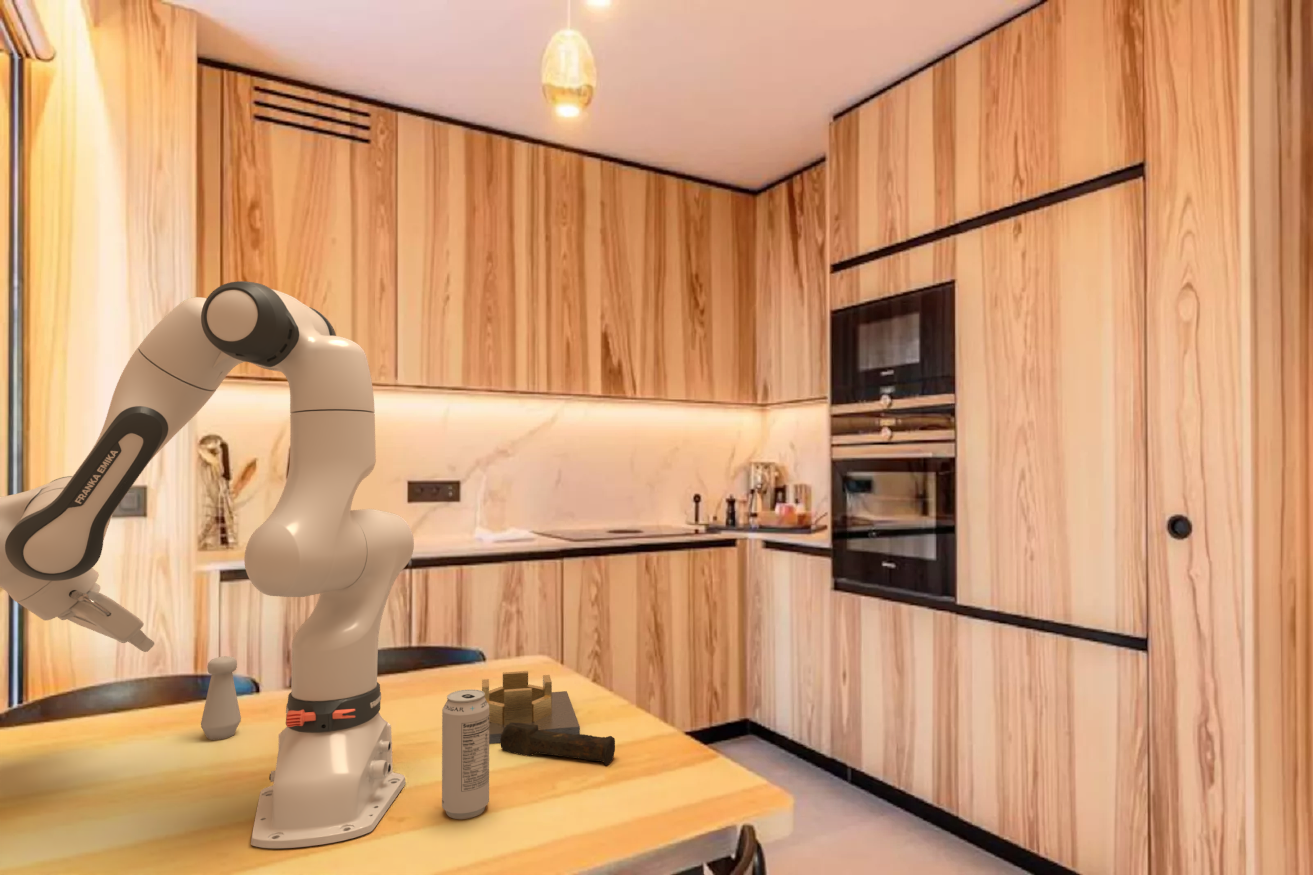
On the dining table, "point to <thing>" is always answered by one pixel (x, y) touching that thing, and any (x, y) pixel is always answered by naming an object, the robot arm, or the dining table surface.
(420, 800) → the dining table surface
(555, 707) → the castellated collar
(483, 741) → the energy drink can
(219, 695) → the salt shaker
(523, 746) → the dark brown textured rod
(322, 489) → the robot arm
